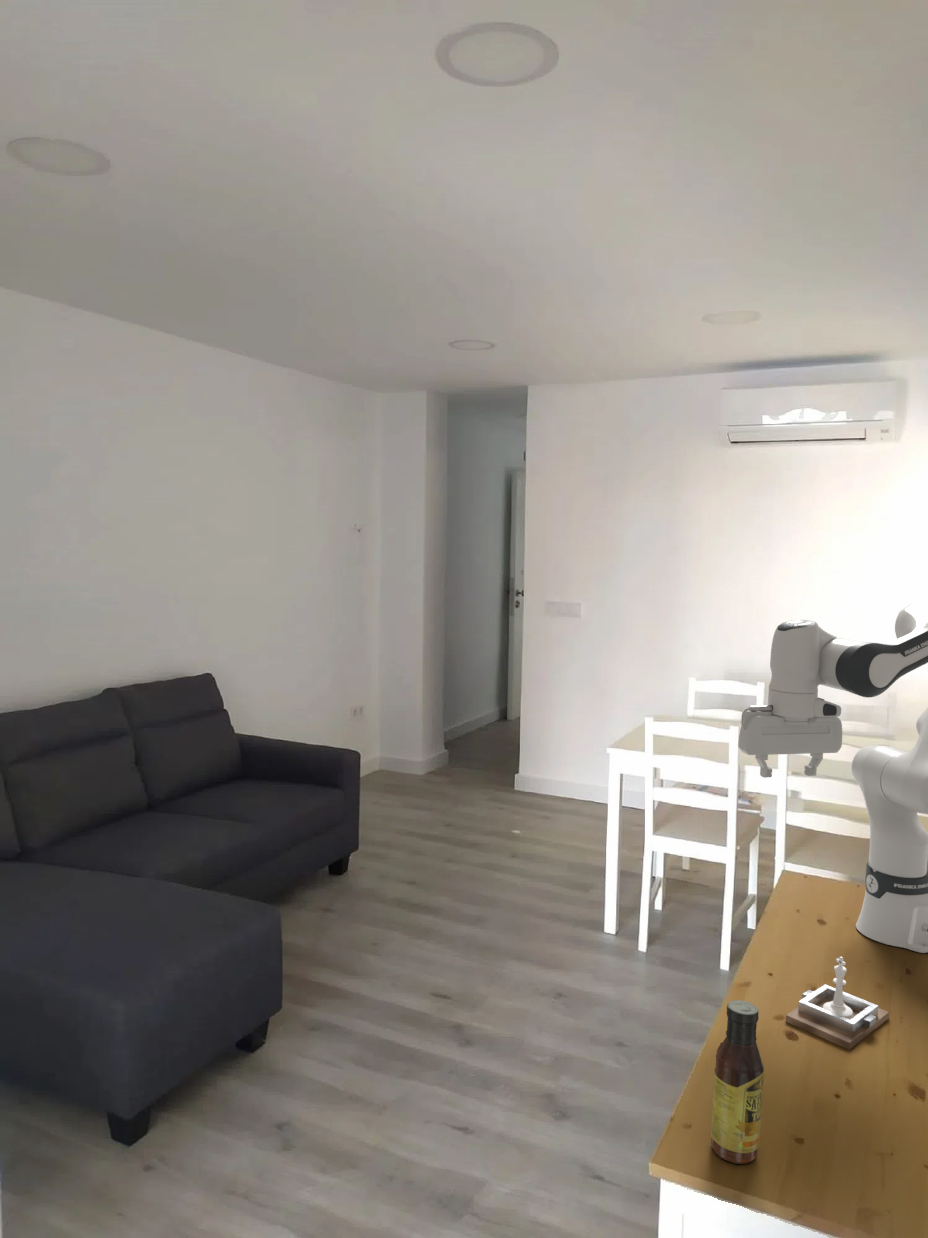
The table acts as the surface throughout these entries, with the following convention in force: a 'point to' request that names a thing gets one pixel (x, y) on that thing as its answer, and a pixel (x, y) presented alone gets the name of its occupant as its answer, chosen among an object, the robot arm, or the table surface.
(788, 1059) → the table surface
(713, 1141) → the sauce bottle
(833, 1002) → the chess piece
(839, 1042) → the socket board
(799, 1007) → the square frame tray
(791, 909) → the table surface
